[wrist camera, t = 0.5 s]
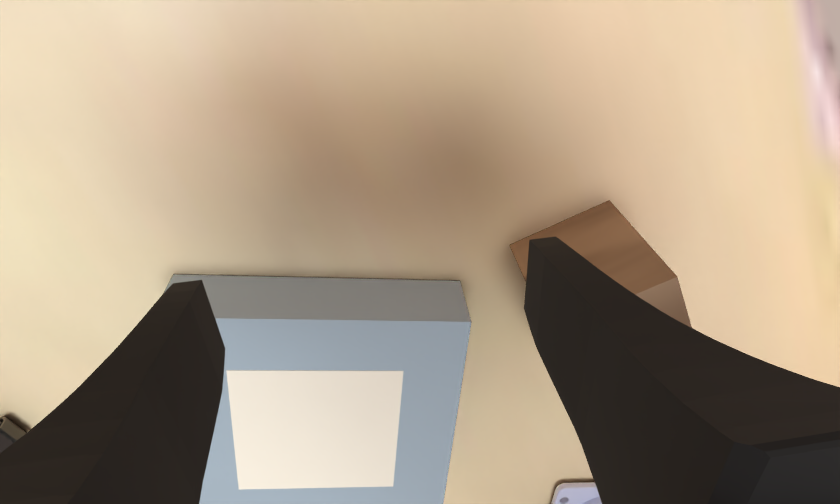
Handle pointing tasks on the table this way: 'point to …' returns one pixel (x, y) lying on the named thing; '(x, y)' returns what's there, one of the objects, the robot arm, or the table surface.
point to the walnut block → (615, 256)
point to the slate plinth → (335, 389)
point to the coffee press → (9, 433)
